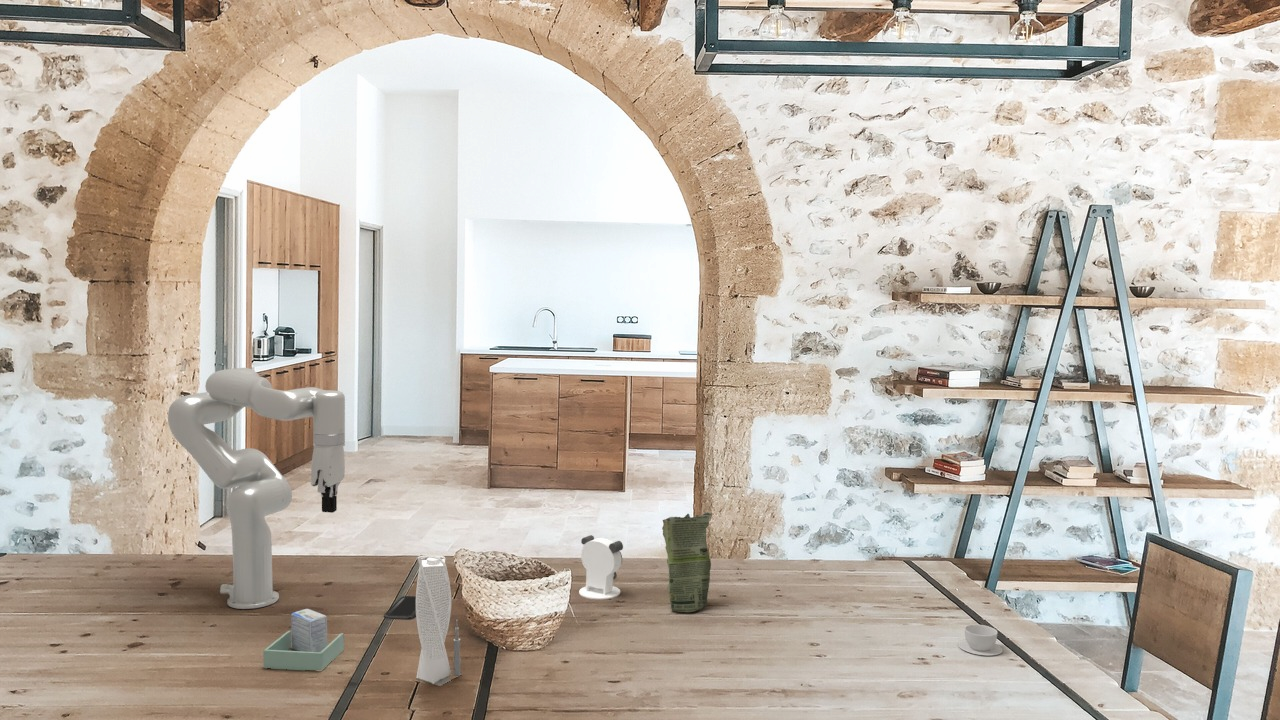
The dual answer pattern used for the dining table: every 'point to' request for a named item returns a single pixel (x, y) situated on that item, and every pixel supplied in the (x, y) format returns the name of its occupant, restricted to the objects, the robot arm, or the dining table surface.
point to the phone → (403, 609)
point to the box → (300, 655)
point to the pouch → (687, 561)
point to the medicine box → (308, 631)
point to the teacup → (980, 640)
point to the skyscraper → (435, 621)
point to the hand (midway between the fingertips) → (329, 511)
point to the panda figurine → (600, 567)
